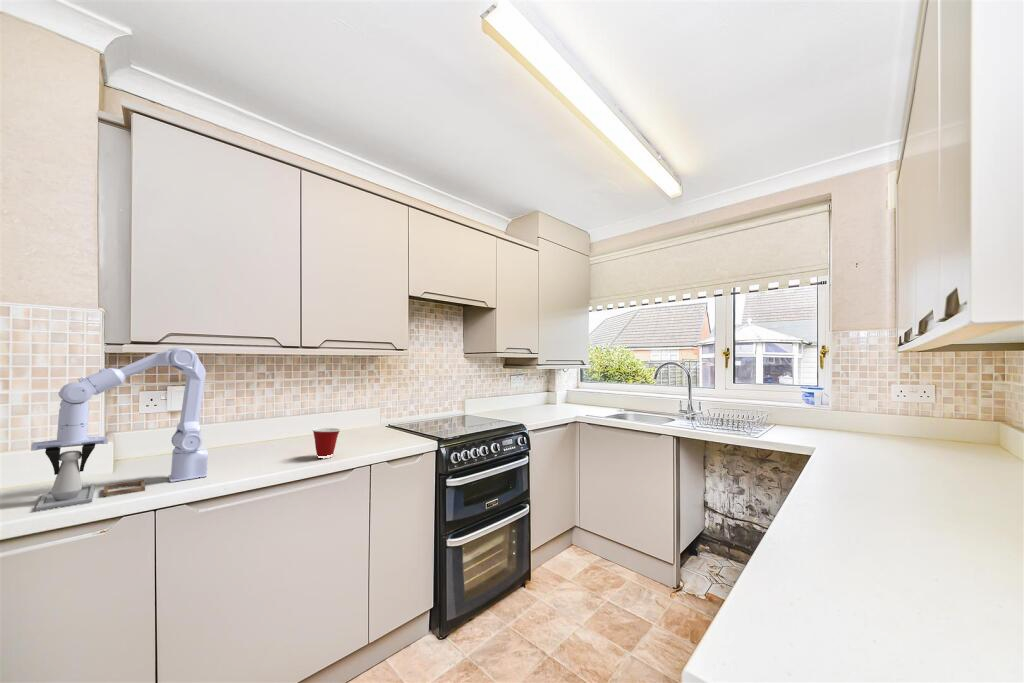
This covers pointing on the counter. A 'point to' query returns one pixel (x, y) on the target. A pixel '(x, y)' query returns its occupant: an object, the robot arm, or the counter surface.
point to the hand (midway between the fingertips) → (69, 472)
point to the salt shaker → (67, 477)
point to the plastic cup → (325, 440)
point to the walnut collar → (124, 489)
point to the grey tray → (50, 502)
